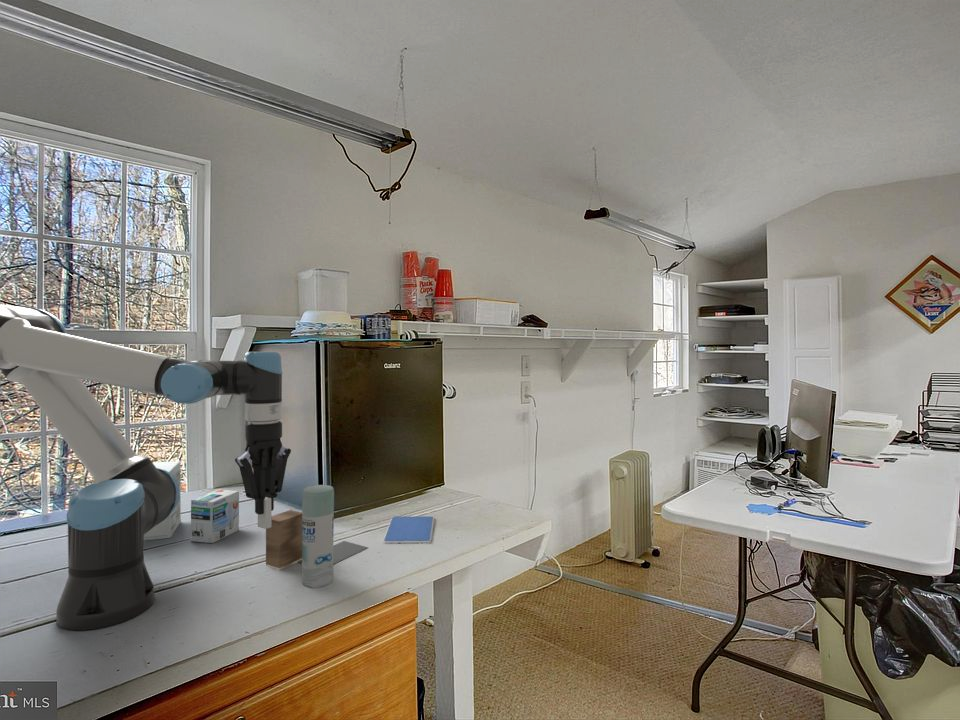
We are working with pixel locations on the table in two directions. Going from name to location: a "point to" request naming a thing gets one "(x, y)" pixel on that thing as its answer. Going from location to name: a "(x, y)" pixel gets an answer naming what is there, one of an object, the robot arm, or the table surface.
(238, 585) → the table surface
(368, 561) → the table surface
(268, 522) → the robot arm
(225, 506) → the light bulb box
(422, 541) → the tablet computer
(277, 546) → the walnut block
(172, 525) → the supplement box
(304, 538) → the spray paint can
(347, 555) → the mat
